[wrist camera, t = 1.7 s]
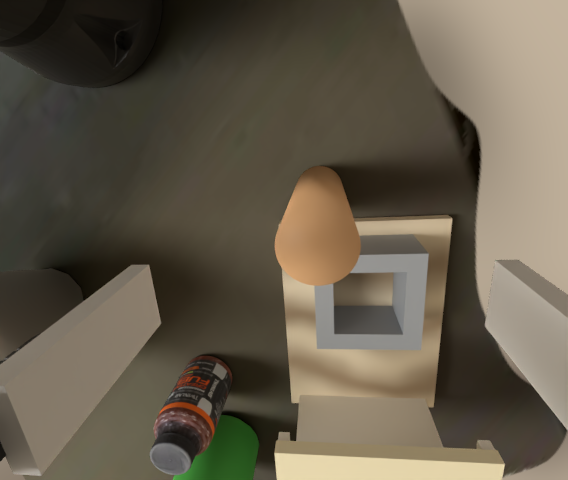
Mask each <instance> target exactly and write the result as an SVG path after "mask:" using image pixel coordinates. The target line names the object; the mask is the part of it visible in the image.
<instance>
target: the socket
mask: <svg viewBox="0 0 568 480" xmlns="http://www.w3.org/2000/svg"><path fill="white" fill-rule="evenodd" d="M360 241H361V250H360V255H359V259H358V261H357V263H356V265H355V267H354V268H353V269H352V271H351V272H350V273H387V272H394V273H393V296H392V306H334V299H333V283H332V284H329V285H323V286H314V289H315V314H316V338H317V349H361V350H421V345H422V332H423V320H424V307H425V294H426V282H427V269H428V256H429V253H428V252H427V251H426V250H425V248H424V247H423V246H422V245H421V244H420V242H419V241H418V240H417V239H416V237H415V236H414V235H413V234H398V235H363V236H360Z"/></svg>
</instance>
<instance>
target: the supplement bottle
mask: <svg viewBox="0 0 568 480" xmlns="http://www.w3.org/2000/svg"><path fill="white" fill-rule="evenodd" d="M231 384H232V374H231V371H230V369H229V367H228V366H227V365H226V364H225V363H224V362H223V361H221V360H220V359H218V358H215V357H212V356H199V357H196V358H194V359H193V360H191V361H190V362H189V363H188V365H187V366H186V368H185V369H184V371H183V373H182V374H181V376H180V377H179V380H178V381H177V383H176V385H175V387H174V388H173V391H172V392H171V394H170V395H169V397H168V399H167V401H166V402H165V404H164V406H163V408H162V409H161V412H160V413H159V415H158V417H157V419H156V421H155V424H154V435H155V438H156V440H155V443H154V445H153V447H152V449H151V451H150V458H151V461H152V463H153V464H154V465H155V466H156V468H158V469H159V470H160V471H163V472H164V473H167V474H171V475H181V474H184V473H186V472H187V471H188V470H189V469H190V468H191V465H192V463H193V460H194V458H195V456H198V455H200V454H201V453H203V452H204V451H205V450H206V449H207V448H208V446H209V445H210V443H211V441H212V438H213V435H214V433H215V430H216V427H217V424H218V421H219V419H220V416H221V413H222V410H223V407H224V405H225V402H226V399H227V396H228V394H229V391H230V388H231Z"/></svg>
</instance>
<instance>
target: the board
mask: <svg viewBox="0 0 568 480" xmlns="http://www.w3.org/2000/svg"><path fill="white" fill-rule="evenodd" d="M354 221H355V224H356V227H357V230H358V233H359V236H363V235H398V234H413V235H414V236H415V237H416V239H417V240H418V241H419V242H420V244H421V245H422V246H423V247H424V248H425V250H426V251H427V252H428V253H429V256H428V269H427V282H426V294H425V307H424V320H423V332H422V345H421V350H361V349H317V338H316V314H315V289H314V286H313V285H307V284H304V283H301V282H299V281H297V280H295V279H293V278H292V277H291V276H289V275H288V274H287V273H286V272H285V271H284V270H283V268H282V276H283V290H284V303H285V317H286V331H287V344H288V358H289V371H290V385H291V399H292V403H299V398H300V395H313V396H349V397H384V398H420V399H425V400H426V403H427V405H428V407H434V398H435V388H436V378H437V368H438V358H439V348H440V338H441V328H442V317H443V307H444V297H445V287H446V277H447V267H448V257H449V247H450V237H451V227H452V218H451V217H450V216H448V215H433V216H404V217H375V218H354ZM281 222H282V221H280V222H279V226H280V224H281ZM393 273H394V272H387V273H349V274H348V275H347V276H345V277H344V278H343V279H341V280H339V281H337V282H335V283H333V299H334V306H392V296H393Z"/></svg>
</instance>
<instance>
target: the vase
mask: <svg viewBox="0 0 568 480" xmlns="http://www.w3.org/2000/svg"><path fill="white" fill-rule="evenodd" d="M83 301H84V300H83V296H82V291H81V288H80V287H79V285H78V284H77V283H76V282H75V281H74V280H73V279H72V278H71V277H70V276H69V275H68V274H66V273H63V272H60V271H58V270H55V269H52V268H49V269H40V270H17V271H5V272H0V361H4V358H5V357H7V356H8V355H9V354H11V353H12V352H13V351H17V348H19V347H20V346H21V345H23V344H24V343H25V342H27V341H28V340H29V339H31V338H32V337H34V336H36V335H38V334H40V333H42V332H44V331H45V330H46V329H48V328H49V327H50V326H52V325H53V324H54V323H56V322H57V321H58V320H60V319H61V318H62V317H63V316H65V315H66V314H67V313H69V312H70V311H71V310H73V309H74V308H75V307H77V306H78V305H79V304H81V303H82V302H83Z"/></svg>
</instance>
